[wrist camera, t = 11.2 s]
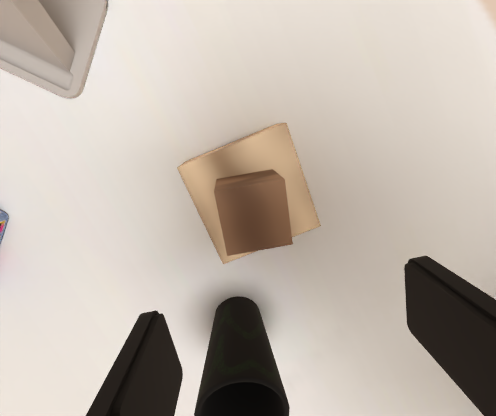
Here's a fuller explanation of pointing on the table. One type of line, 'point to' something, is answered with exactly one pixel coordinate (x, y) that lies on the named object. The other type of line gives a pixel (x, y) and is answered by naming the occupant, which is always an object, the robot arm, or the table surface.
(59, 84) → the phone holder
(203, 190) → the oak block
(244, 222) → the walnut cube
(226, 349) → the cup
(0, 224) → the ink cartridge box
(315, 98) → the table surface
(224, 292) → the table surface
